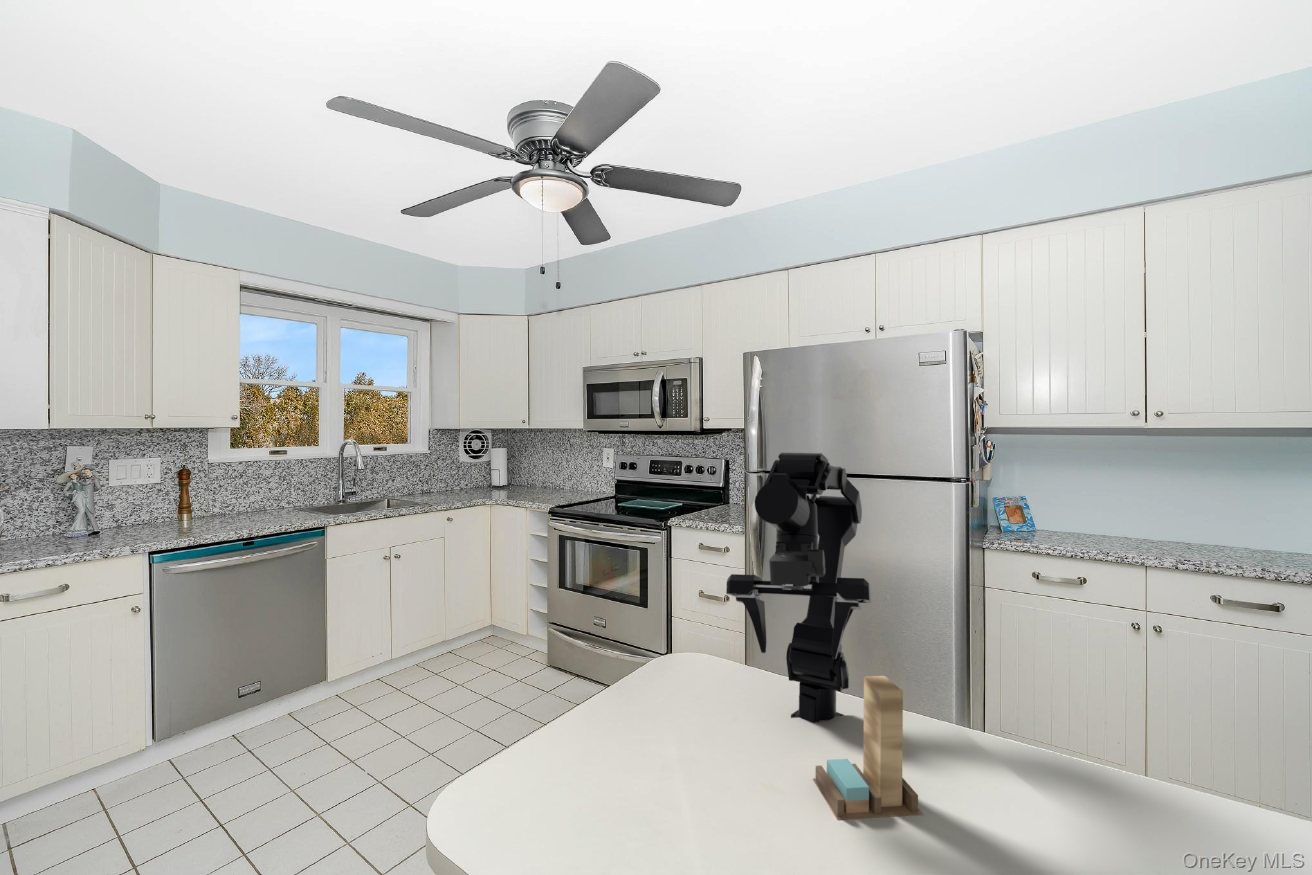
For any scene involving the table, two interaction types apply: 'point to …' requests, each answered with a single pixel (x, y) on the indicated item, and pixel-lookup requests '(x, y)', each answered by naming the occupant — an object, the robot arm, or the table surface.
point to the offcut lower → (854, 804)
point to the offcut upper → (847, 780)
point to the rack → (875, 808)
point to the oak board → (883, 738)
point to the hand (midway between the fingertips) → (798, 655)
